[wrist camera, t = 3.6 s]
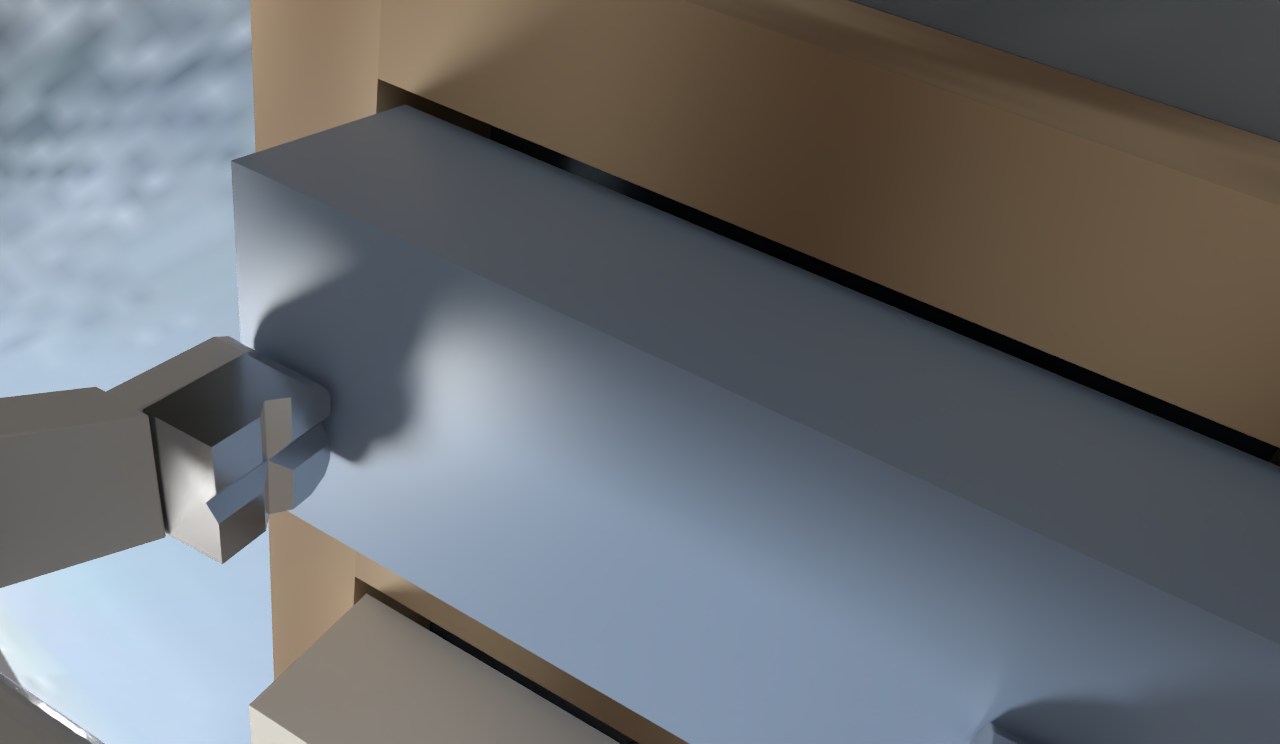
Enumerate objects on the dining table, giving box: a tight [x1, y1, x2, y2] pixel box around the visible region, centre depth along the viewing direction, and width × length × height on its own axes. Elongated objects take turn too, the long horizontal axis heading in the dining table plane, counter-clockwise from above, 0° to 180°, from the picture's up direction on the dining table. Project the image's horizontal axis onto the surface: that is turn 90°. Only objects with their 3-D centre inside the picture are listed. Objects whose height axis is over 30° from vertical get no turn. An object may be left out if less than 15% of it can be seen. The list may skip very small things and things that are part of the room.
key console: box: [250, 0, 1280, 744], centre depth 16 cm, size 17×20×3 cm
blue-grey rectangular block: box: [231, 104, 1280, 744], centre depth 11 cm, size 12×5×3 cm, turn 77°
